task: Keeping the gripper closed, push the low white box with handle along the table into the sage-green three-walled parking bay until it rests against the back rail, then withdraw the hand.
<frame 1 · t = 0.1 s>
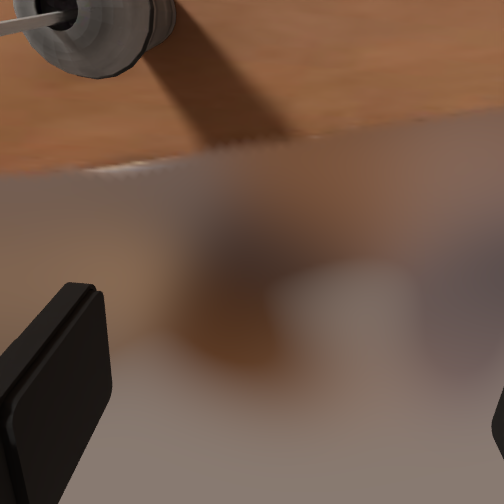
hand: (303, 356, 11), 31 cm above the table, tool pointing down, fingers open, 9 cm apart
beverage cup: (147, 12, 37), on the table
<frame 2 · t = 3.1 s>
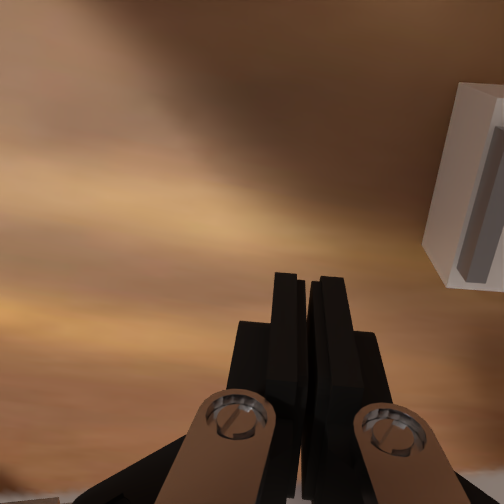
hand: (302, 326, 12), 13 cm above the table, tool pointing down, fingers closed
white box with handle: (500, 172, 23), on the table
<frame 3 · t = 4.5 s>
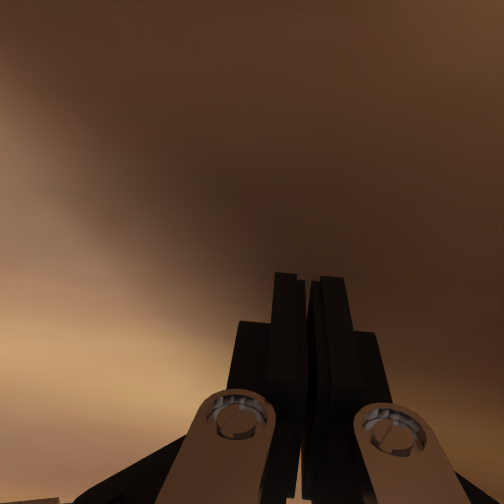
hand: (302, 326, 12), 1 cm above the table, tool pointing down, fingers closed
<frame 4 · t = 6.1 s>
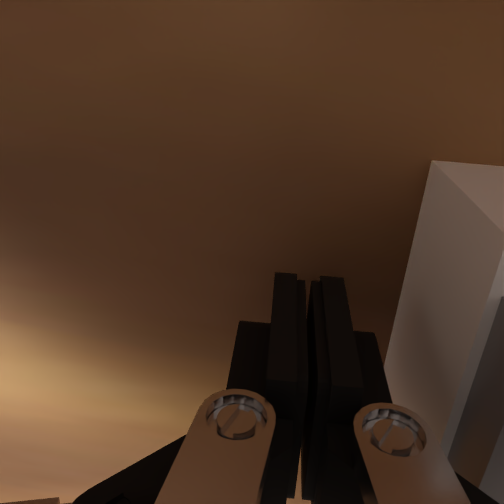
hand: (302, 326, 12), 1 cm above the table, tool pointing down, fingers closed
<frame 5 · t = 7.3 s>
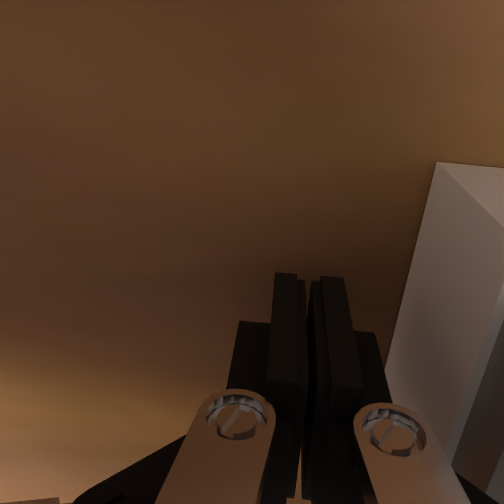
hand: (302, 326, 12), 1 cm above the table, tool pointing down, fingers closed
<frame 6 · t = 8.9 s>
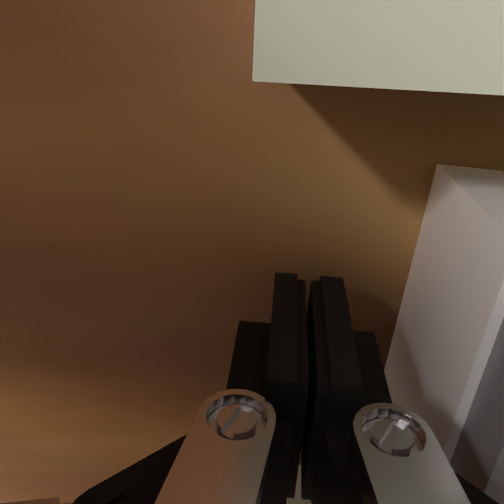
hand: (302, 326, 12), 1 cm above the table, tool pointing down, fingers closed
parking bay: (463, 317, 13), on the table
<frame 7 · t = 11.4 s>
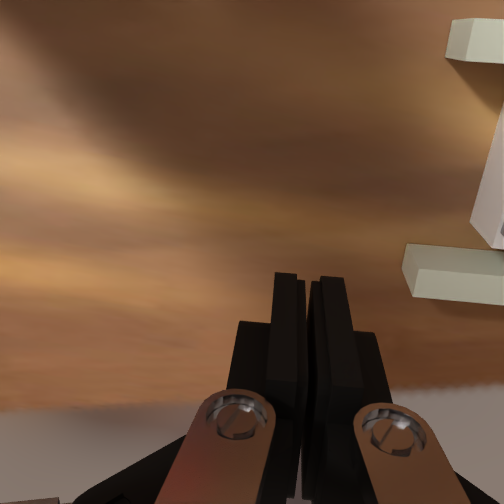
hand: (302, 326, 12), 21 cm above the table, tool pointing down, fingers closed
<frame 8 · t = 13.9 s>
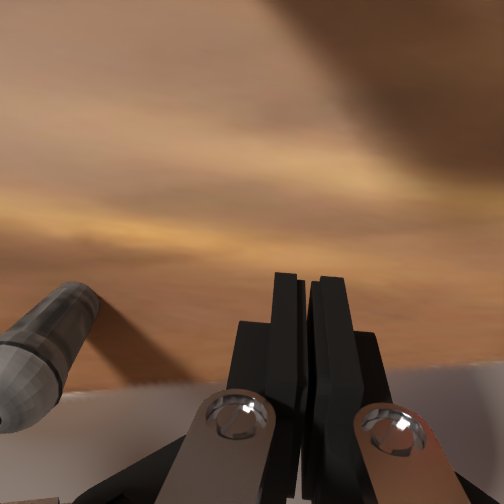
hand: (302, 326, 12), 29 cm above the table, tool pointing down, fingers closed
beverage cup: (78, 300, 48), on the table
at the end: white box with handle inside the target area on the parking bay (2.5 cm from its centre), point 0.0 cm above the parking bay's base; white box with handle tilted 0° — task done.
